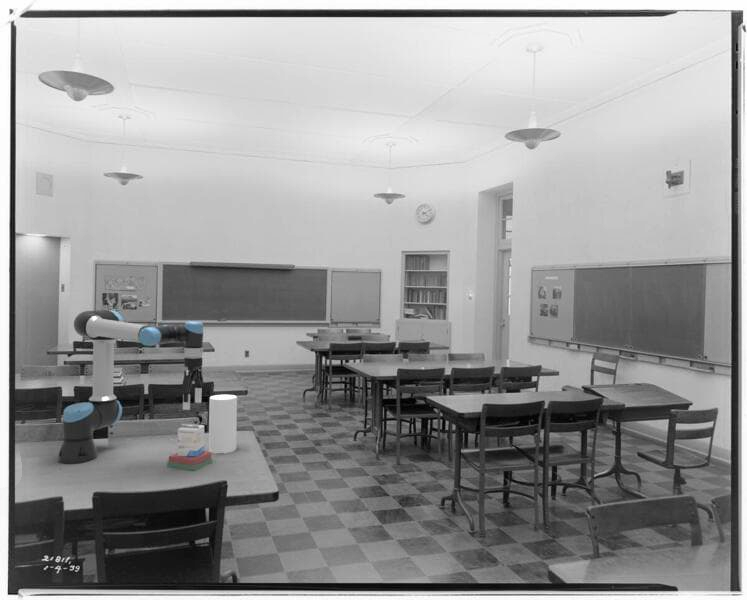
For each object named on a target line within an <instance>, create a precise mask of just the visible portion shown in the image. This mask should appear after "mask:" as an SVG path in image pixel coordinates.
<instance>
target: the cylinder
mask: <svg viewBox="0 0 747 600" xmlns="http://www.w3.org/2000/svg"><path fill="white" fill-rule="evenodd" d="M208 406H209V407H208V408H209V409H208V411H209V412H208V413H209V417H208V452H211V454H216V453H217V454H218V453H224V454H229V452H230V453H233V452H235V451H236V450H237V426H238V425H237V422H238V418H237V417H238V416H237V415H238V396H237V395H235V394H224V393H223V394H216V395H211V396H210V397H209V405H208Z"/></svg>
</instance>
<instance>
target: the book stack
mask: <svg viewBox="0 0 747 600" xmlns="http://www.w3.org/2000/svg"><path fill="white" fill-rule="evenodd" d="M211 462H212V463H213V457H212V453H211V452H209V451H205V450H204V452H203V453H201V454H200V455H198V456H197V457H190V456H178V451H177V452H175V453H173V454H169V456H168V460H167V461H166V467H167V468H168V467H169V468H173V467H174V468H175V469H181V470H186V471H193V472H195V471H197V470H199V469H202V468H203V467H206V466H207V465H209V463H210V464H211Z"/></svg>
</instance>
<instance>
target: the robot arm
mask: <svg viewBox="0 0 747 600" xmlns="http://www.w3.org/2000/svg"><path fill="white" fill-rule="evenodd" d="M73 328H74V330H75V332H76V333H77V334H78V335H80V336H81V337H84V338H89V340H90V341H91V343H92V344H93V346H92V348H93V350H92V352H93V353H92V355H93V356H92V357H93V358H92V395H91V396H90V397H89V398H88V402H86V401H85V402H79V403H78V402H77V403H74V404H71V405H68V406H66V407H65V408H64V410H63V416H62V444H61V446H60V447H61V448H60V449H59V452H58V457H57V460H58V462H59V461H60V462H59V463H61V462H62V464H80V463H85V462H89V461H92V460H94V459H96V458H97V457H98V450H97V447H96V444H95V441H94V431H96V430H100V429H102V428H106V427H110V426H112V425H115V424H116V423H118V421H119V420H120V419H121V416H122V414H123V407H122V404H121V402H120V401H119V400H118V399H117V396H116V395H115V394H114V372H115V371H114V369H115V368H114V366H115V358H114V357H115V342H117V341H118V340H122V341H127V342H135V343H141V344H142V345H144V346H150V347H151V346H152V347H153V346H156V345H165V344H171V343H179V344H180V343H182V344H184V349H183V357H185V358H184V360H183V361H184V363H183V366H184V367H186V368H187V369H185V370H184V374H183V380H182V386H181V389H180V395H182V410H183V411H184V410H185V411H190V410H191V394H190V393H191V388H192V386H193V382H194V385H195V387H194V403H196V404H201V403H202V392H203V391H202V388H203V389H204V388H205V382H204V377H203V372H202V366H203V354H204V349H203V348H204V346H203V345H204V344H203V343H204V324H203V322H201V321H196V320H195V321H193V320H192V321H191V320H190V321H186V322H185V323H184V325H181V324H179V325H178V324H163V325H162V326H154V325H153V326H152V325H145V324H139V323H132V322H127V321H126V322H124V319H123V317H122V315H121V314H119V312H117V311H116V310H111V309H101V310H99V309H98V310H86V311H85V310H84V311H81V312H80V313H78V314H77V316H76V317H75V318H74V320H73Z"/></svg>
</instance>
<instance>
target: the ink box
mask: <svg viewBox="0 0 747 600" xmlns="http://www.w3.org/2000/svg"><path fill="white" fill-rule="evenodd" d="M204 451H205V425H203V424H196V423H195V424H193V423H181V426H180V427H179V428H177V452H178V456H190V457H197V456H198V455H200V454H201V453H203V452H204Z"/></svg>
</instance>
